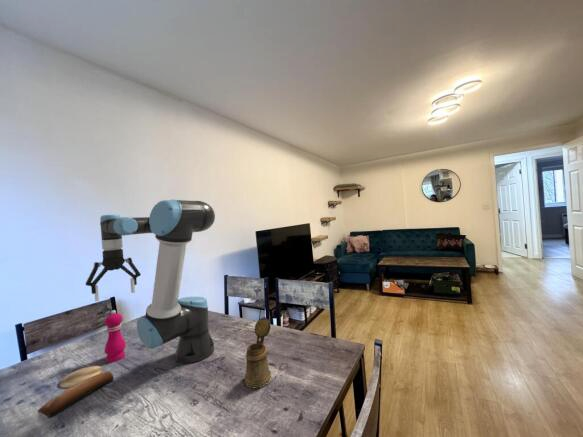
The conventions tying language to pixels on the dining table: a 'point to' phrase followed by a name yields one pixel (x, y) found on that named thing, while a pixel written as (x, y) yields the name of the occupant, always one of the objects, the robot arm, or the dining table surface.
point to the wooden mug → (258, 357)
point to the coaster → (79, 376)
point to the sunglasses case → (75, 393)
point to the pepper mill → (114, 338)
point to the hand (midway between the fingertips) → (115, 296)
